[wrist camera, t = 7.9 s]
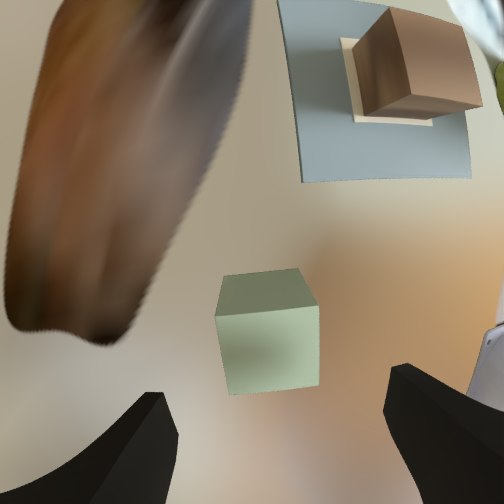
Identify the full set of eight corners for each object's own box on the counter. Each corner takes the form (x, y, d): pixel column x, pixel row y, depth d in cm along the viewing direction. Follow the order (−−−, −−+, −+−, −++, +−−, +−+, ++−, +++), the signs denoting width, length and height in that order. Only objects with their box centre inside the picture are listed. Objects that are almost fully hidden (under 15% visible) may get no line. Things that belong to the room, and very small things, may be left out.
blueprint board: (465, 178, 15) (472, 178, 14) (301, 182, 15) (304, 182, 14) (436, 22, 12) (442, 19, 12) (276, 1, 12) (277, -5, 12)
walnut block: (426, 120, 13) (482, 106, 9) (363, 116, 14) (411, 94, 9) (413, 56, 13) (461, 26, 8) (351, 48, 13) (388, 6, 8)
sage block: (301, 333, 17) (318, 385, 12) (233, 340, 17) (229, 394, 12) (298, 268, 16) (318, 305, 11) (223, 275, 16) (214, 316, 11)
